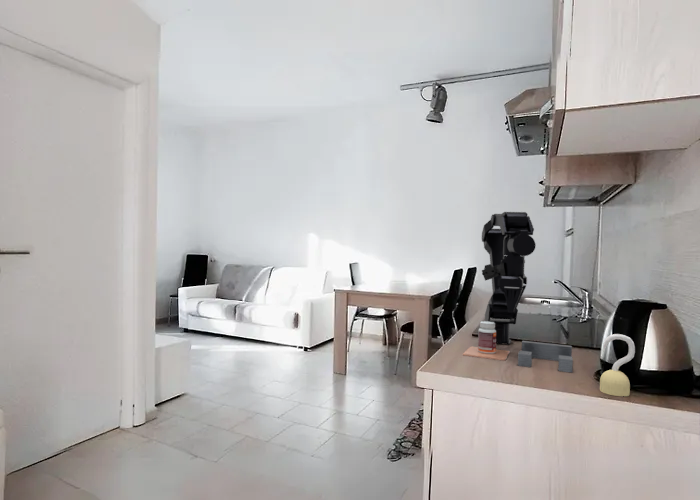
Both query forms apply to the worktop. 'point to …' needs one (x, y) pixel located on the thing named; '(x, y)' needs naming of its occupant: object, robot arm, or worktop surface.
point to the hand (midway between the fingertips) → (512, 310)
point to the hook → (614, 379)
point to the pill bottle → (487, 338)
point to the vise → (546, 354)
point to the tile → (475, 353)
